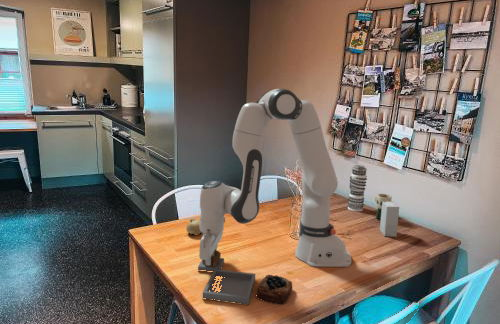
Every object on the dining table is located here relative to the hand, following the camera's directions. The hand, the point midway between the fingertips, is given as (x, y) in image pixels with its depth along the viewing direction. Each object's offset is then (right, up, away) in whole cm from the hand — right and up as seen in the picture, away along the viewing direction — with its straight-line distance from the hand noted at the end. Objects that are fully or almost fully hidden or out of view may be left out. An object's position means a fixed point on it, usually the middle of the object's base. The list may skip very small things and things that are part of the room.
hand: (211, 259), depth 135 cm
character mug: (+84, +6, +56) cm, 101 cm away
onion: (-11, +4, +30) cm, 32 cm away
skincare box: (+81, +2, +38) cm, 89 cm away
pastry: (+23, -8, -14) cm, 28 cm away
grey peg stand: (0, -3, +1) cm, 3 cm away
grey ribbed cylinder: (+75, +10, +70) cm, 103 cm away
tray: (+8, -7, -13) cm, 17 cm away
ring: (0, -1, 0) cm, 1 cm away
